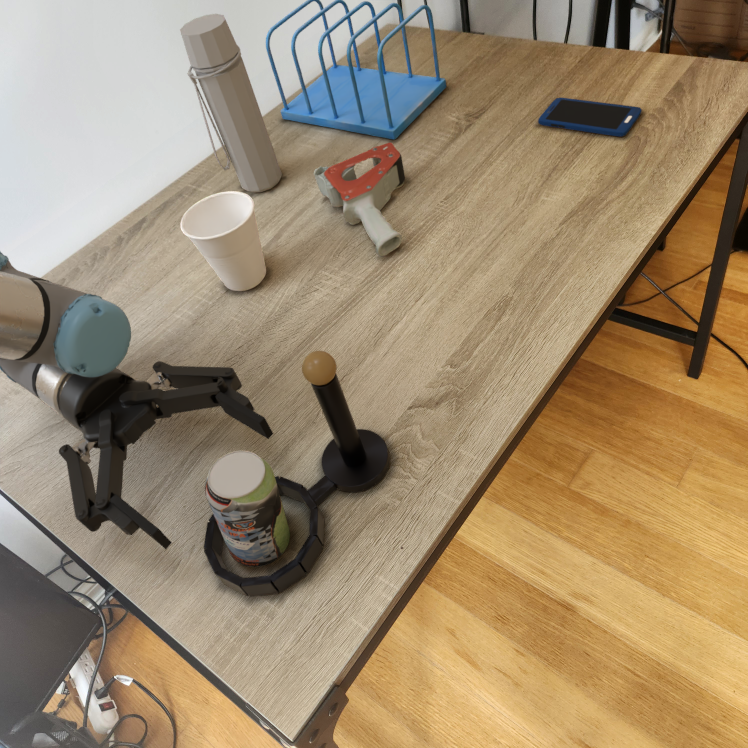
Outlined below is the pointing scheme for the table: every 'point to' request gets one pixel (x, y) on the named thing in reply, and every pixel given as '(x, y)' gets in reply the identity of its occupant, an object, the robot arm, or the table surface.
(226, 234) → the cup
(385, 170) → the tape dispenser
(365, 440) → the can holder
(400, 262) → the table surface
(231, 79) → the water bottle
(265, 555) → the beverage can
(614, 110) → the cell phone
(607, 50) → the table surface
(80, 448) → the robot arm
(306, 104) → the file sorter
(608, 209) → the table surface
